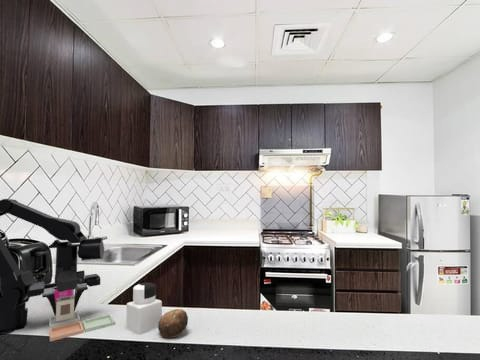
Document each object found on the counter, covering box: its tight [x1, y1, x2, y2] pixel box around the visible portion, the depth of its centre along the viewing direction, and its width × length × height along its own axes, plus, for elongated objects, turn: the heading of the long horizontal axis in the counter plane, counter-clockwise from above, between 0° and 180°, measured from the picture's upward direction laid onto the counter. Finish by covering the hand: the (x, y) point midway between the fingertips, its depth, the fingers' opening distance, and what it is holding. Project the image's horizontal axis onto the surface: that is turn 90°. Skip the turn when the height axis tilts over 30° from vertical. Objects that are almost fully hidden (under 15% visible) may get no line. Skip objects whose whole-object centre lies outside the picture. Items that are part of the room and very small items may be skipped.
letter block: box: [54, 296, 75, 321], centre depth 82 cm, size 4×5×6 cm
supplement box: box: [54, 289, 75, 303], centre depth 101 cm, size 6×6×12 cm
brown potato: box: [157, 308, 189, 339], centre depth 71 cm, size 8×8×6 cm
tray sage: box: [81, 313, 116, 333], centre depth 78 cm, size 8×8×1 cm
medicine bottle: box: [125, 282, 163, 335], centre depth 76 cm, size 7×7×12 cm
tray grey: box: [48, 311, 81, 330], centre depth 81 cm, size 8×8×1 cm
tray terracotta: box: [49, 320, 85, 342], centre depth 73 cm, size 8×8×1 cm
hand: (64, 313), depth 82 cm, fingers closed on letter block, 4 cm apart
